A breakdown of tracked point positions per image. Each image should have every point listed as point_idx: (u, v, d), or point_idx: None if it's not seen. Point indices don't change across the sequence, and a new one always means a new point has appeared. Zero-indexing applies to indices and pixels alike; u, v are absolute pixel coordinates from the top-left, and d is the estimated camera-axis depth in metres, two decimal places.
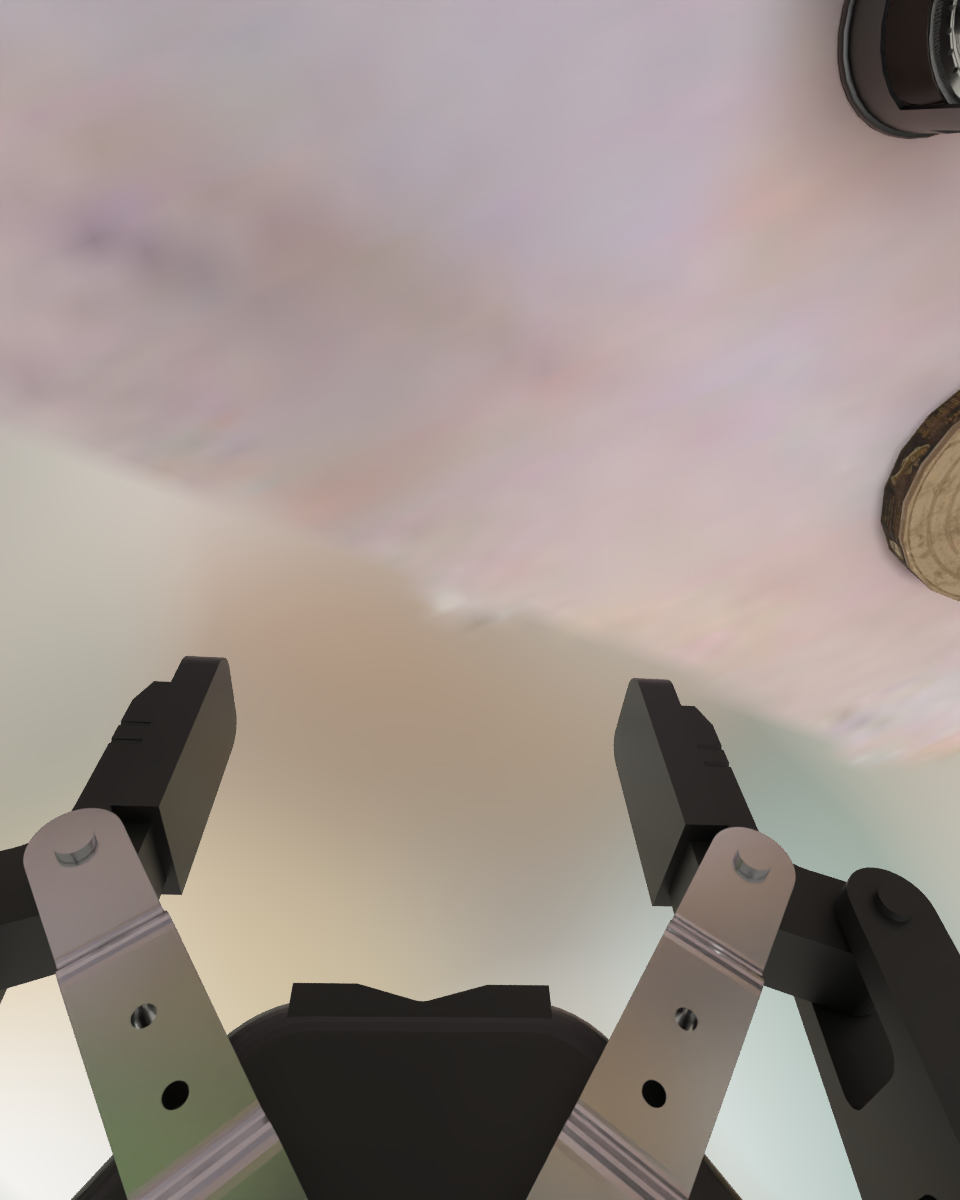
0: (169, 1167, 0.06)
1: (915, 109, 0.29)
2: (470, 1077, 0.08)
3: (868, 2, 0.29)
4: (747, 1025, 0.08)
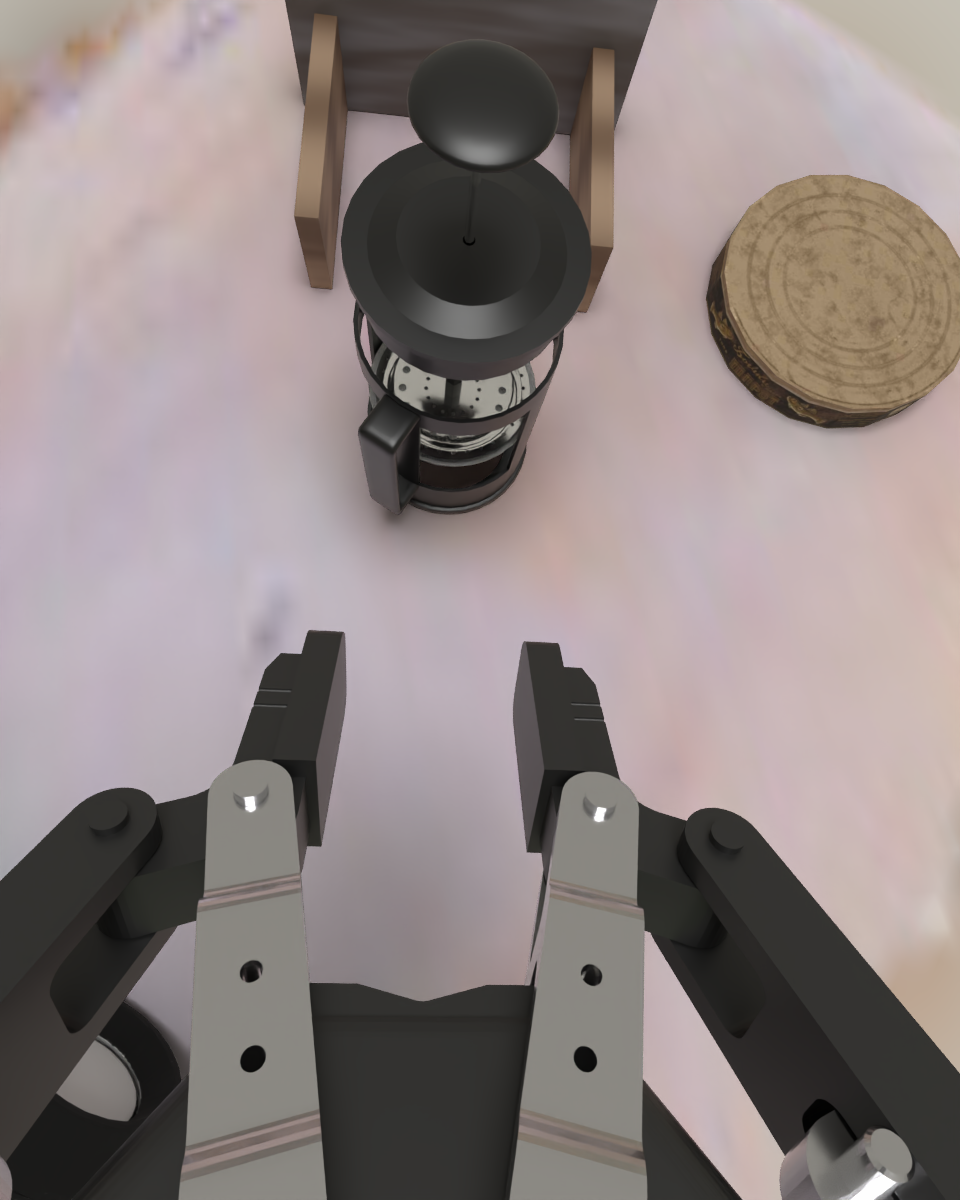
0: (227, 1125, 0.07)
1: (511, 461, 0.37)
2: (470, 1077, 0.08)
3: (434, 499, 0.39)
4: (642, 957, 0.08)
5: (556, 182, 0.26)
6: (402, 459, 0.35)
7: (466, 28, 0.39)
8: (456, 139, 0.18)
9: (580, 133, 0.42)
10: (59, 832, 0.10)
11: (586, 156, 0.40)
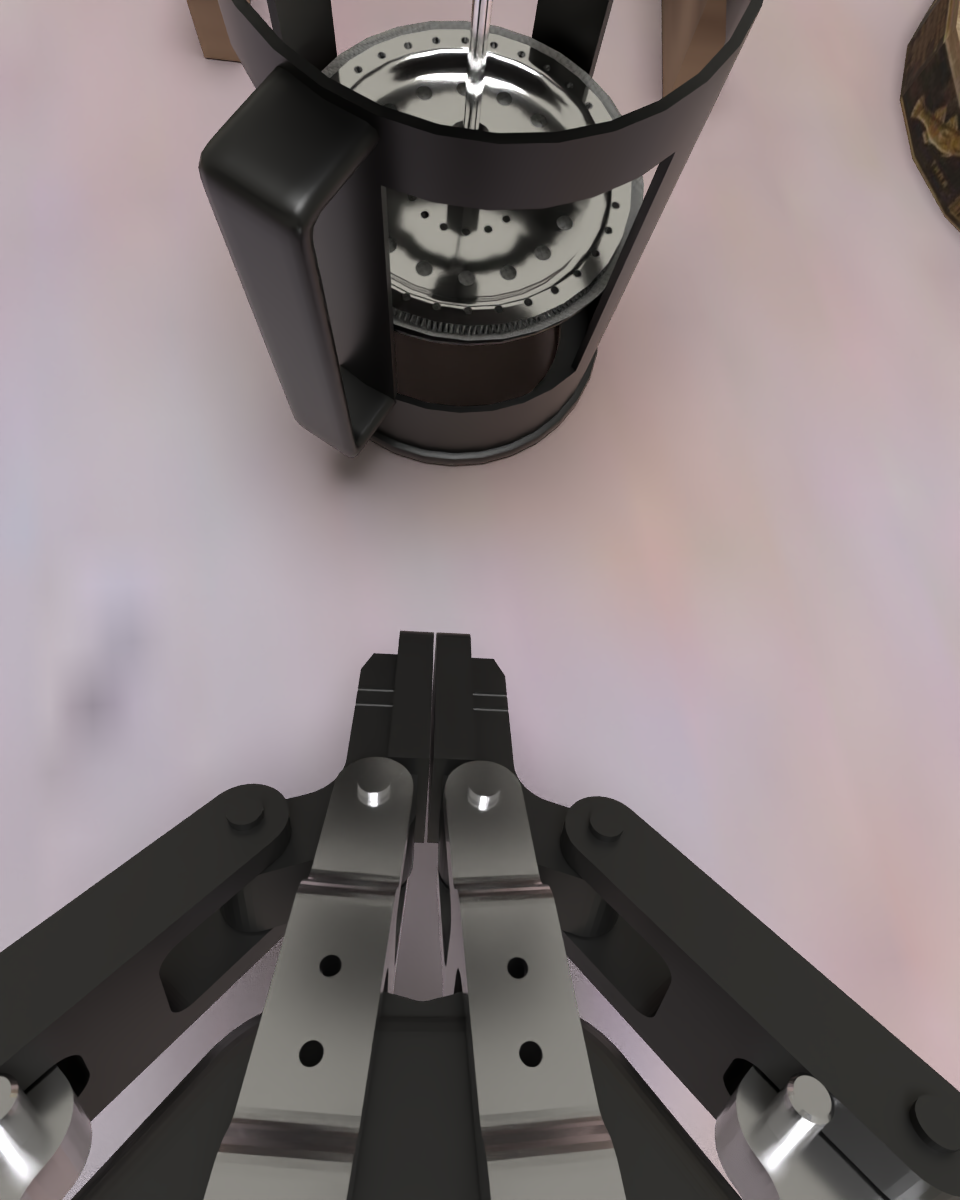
0: (272, 1111, 0.07)
1: (586, 347, 0.18)
2: (470, 1077, 0.08)
3: (427, 431, 0.20)
4: (560, 935, 0.08)
5: None
6: (355, 328, 0.16)
7: None
8: None
9: None
10: (202, 815, 0.10)
11: None
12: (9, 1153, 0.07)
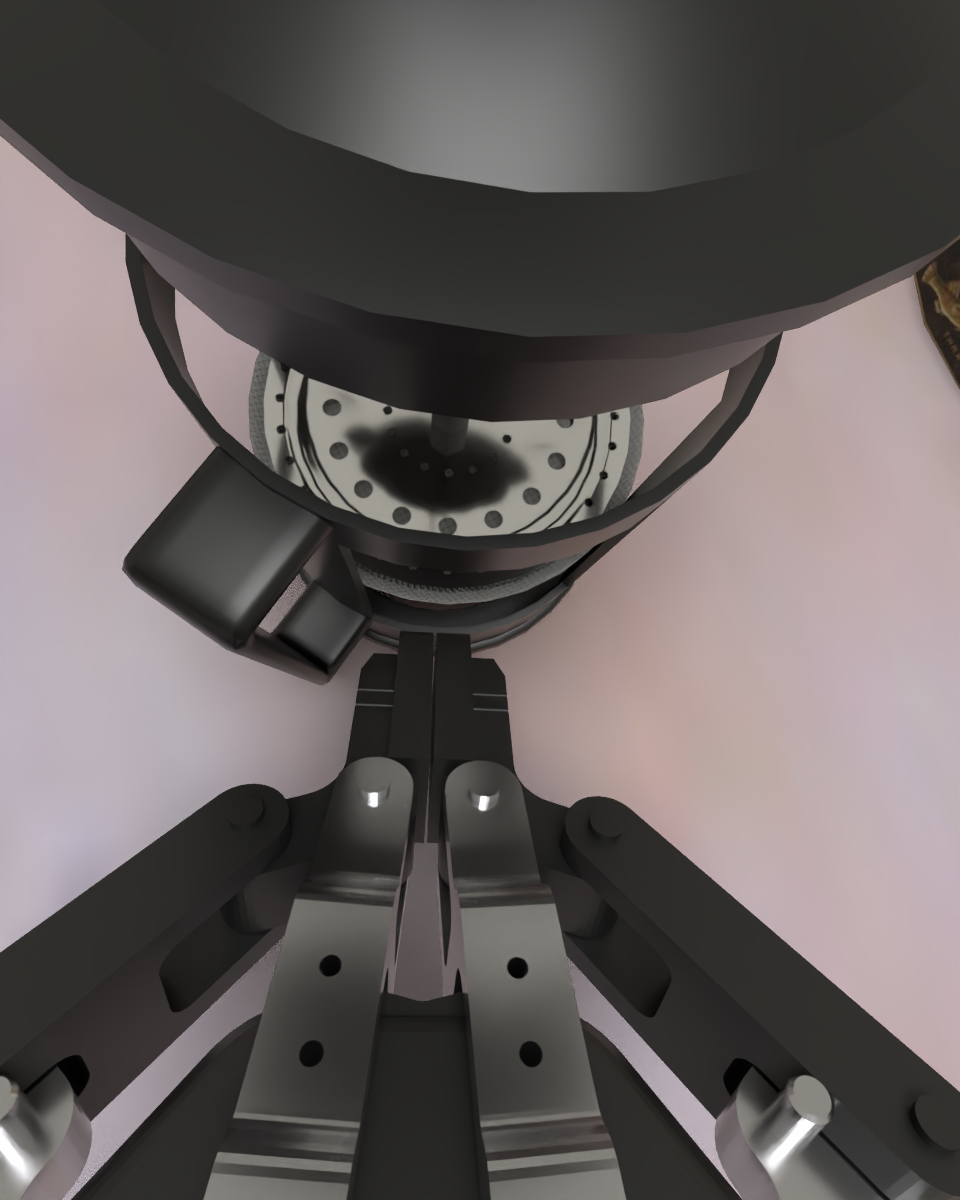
0: (272, 1112, 0.07)
1: (577, 576, 0.16)
2: (470, 1077, 0.08)
3: None
4: (560, 934, 0.08)
5: None
6: (325, 580, 0.14)
7: None
8: None
9: None
10: (202, 815, 0.10)
11: None
12: (9, 1153, 0.07)
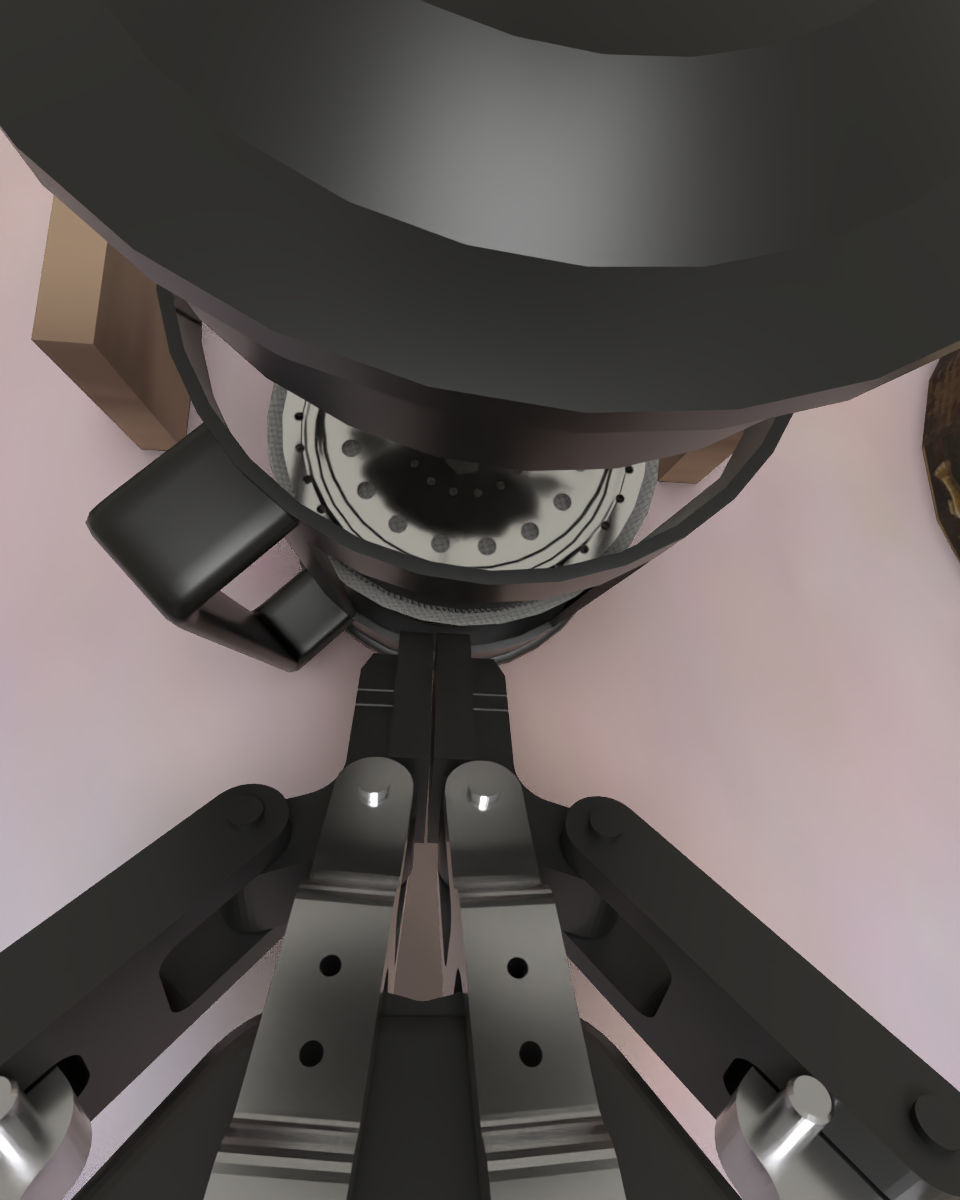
0: (272, 1112, 0.07)
1: (563, 619, 0.16)
2: (470, 1077, 0.08)
3: (387, 644, 0.18)
4: (560, 934, 0.08)
5: None
6: (310, 571, 0.15)
7: None
8: None
9: None
10: (202, 815, 0.10)
11: None
12: (9, 1154, 0.07)
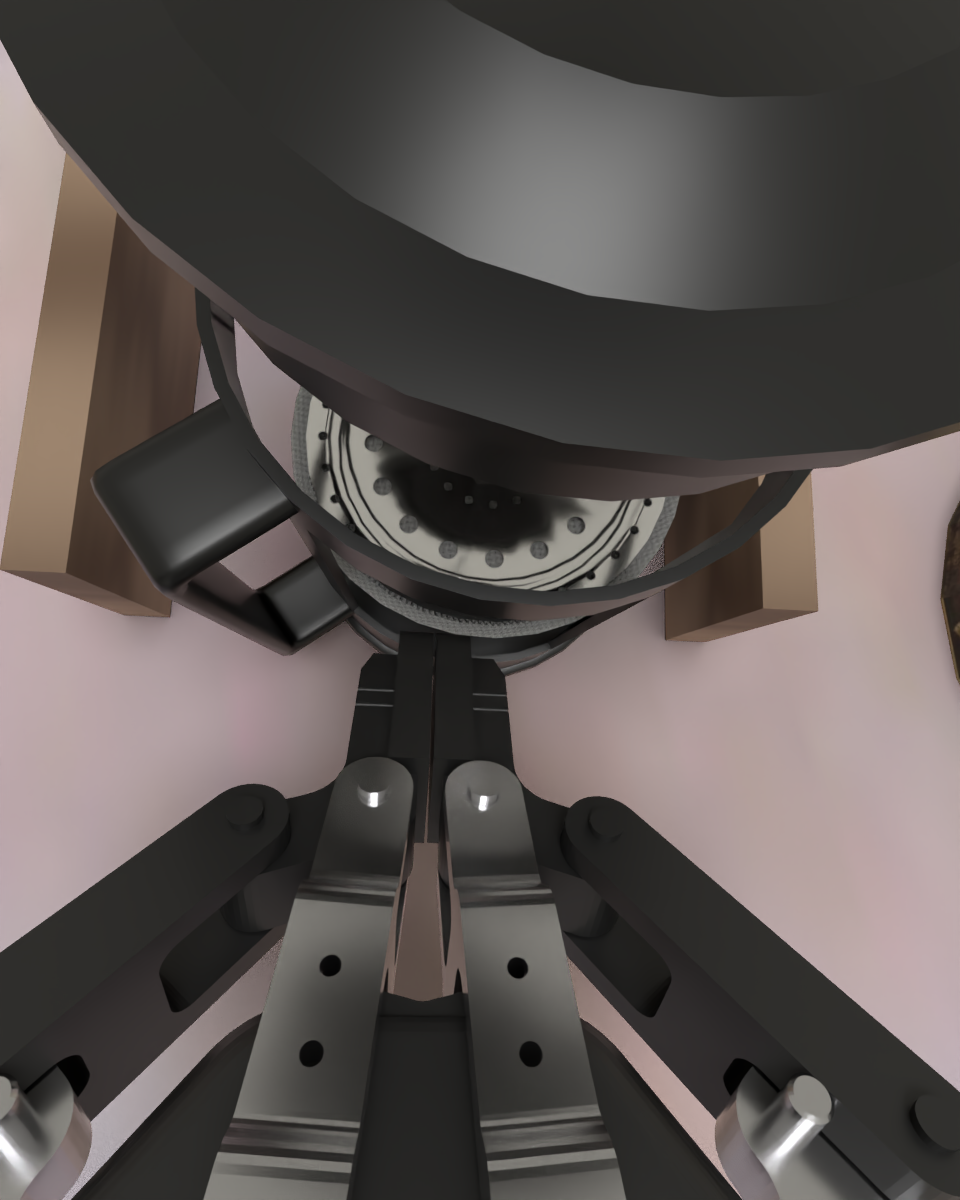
0: (273, 1112, 0.07)
1: (561, 642, 0.16)
2: (470, 1077, 0.08)
3: (384, 641, 0.18)
4: (560, 934, 0.08)
5: None
6: None
7: None
8: None
9: None
10: (201, 815, 0.10)
11: None
12: (9, 1153, 0.07)
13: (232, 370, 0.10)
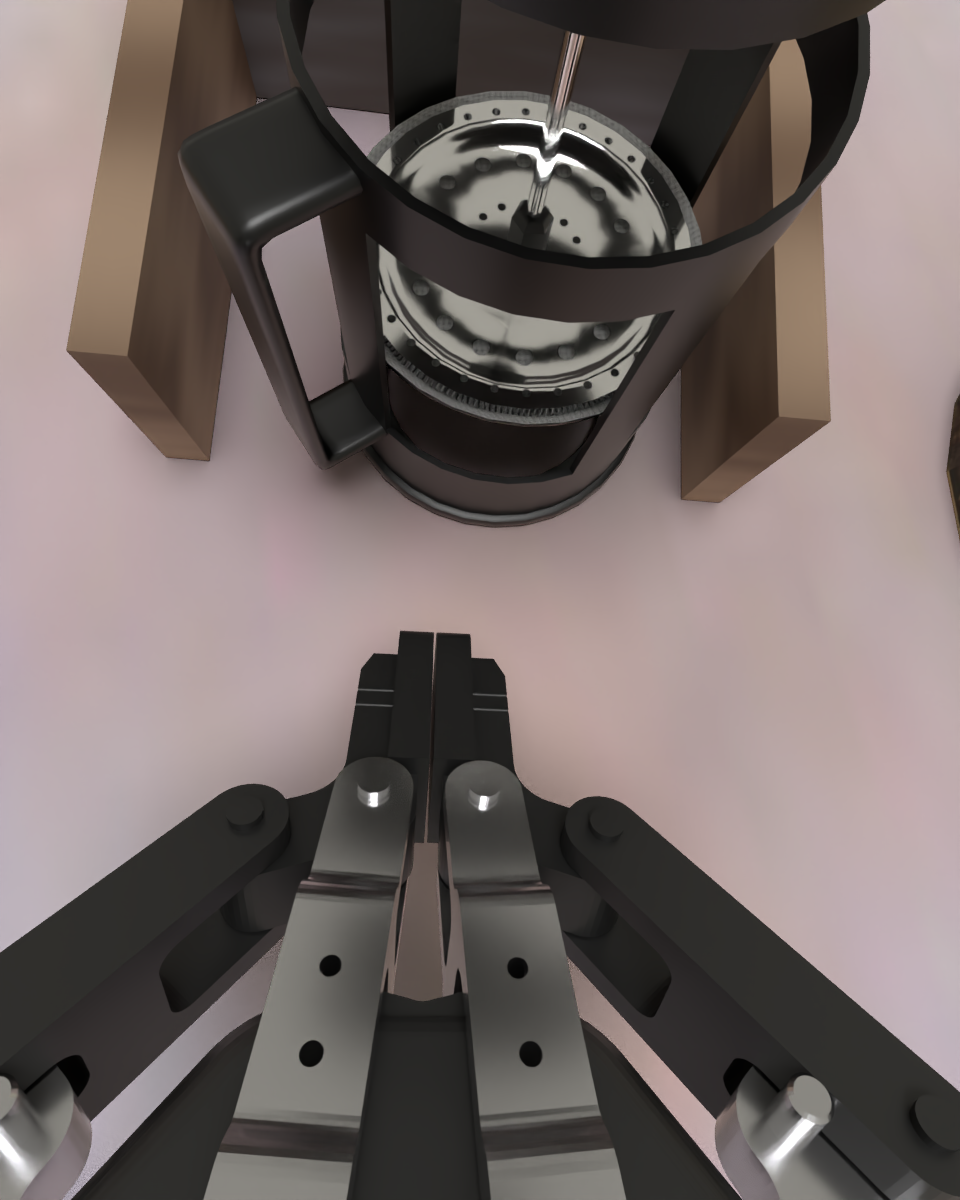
0: (272, 1112, 0.07)
1: (583, 456, 0.17)
2: (470, 1077, 0.08)
3: (413, 473, 0.19)
4: (560, 934, 0.08)
5: None
6: (356, 352, 0.16)
7: None
8: None
9: None
10: (202, 815, 0.10)
11: (747, 201, 0.18)
12: (9, 1153, 0.07)
13: None
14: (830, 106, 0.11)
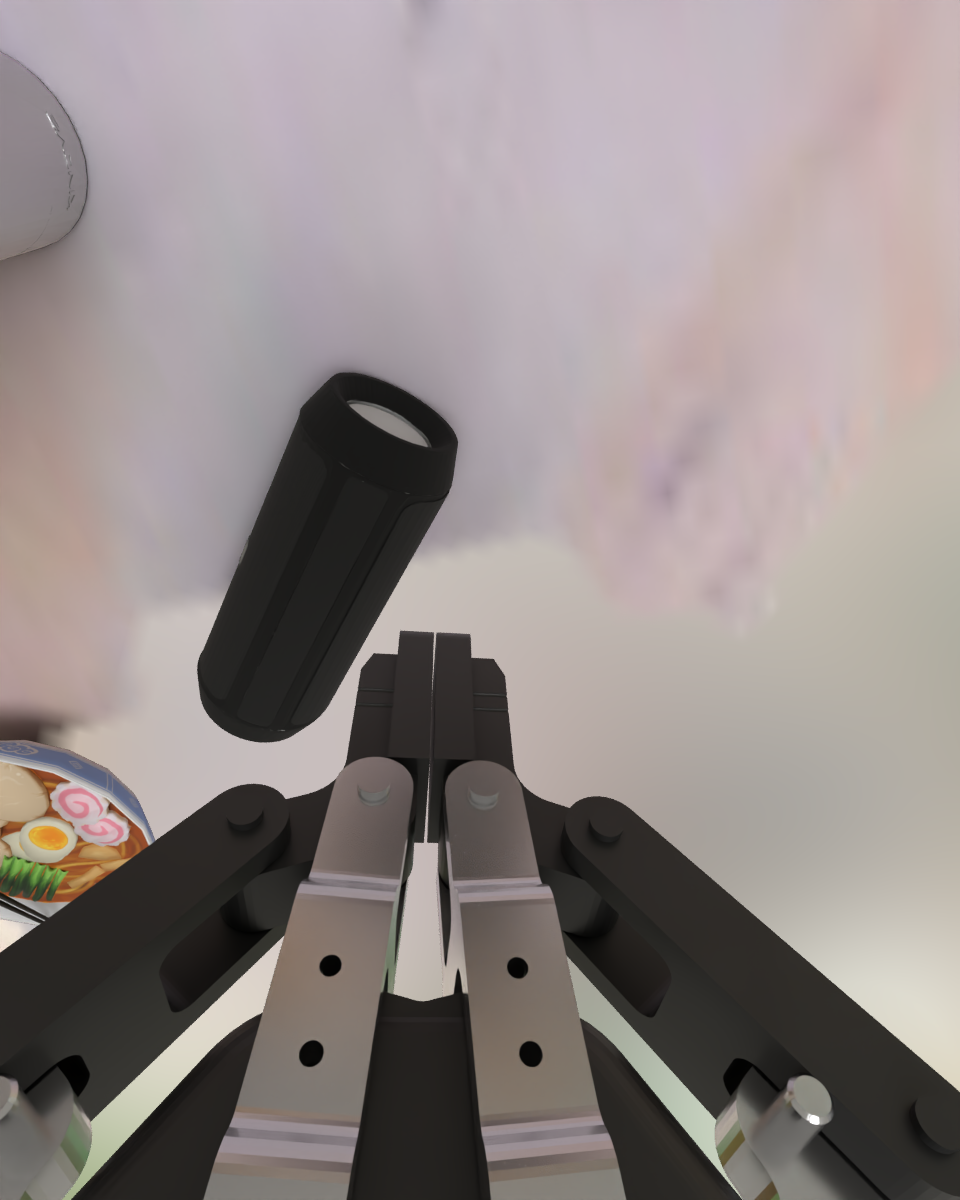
0: (273, 1112, 0.07)
1: None
2: (470, 1077, 0.08)
3: None
4: (560, 935, 0.08)
5: None
6: None
7: None
8: None
9: None
10: (202, 815, 0.10)
11: None
12: (9, 1153, 0.07)
13: None
14: None
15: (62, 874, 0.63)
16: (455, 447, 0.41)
